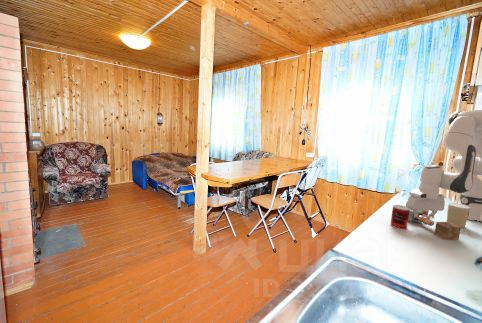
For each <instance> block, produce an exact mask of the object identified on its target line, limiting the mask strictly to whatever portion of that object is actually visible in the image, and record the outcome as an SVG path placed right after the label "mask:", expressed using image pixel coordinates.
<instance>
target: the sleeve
mask: <svg viewBox="0 0 482 323" xmlns="http://www.w3.org/2000/svg"><path fill="white" fill-rule="evenodd" d="M417 213H418V215H421V216H423V217H424V215H423V212H422V211H418V212H417ZM408 223H411V224H417V223H419V224H423V222H421V221H419V220H417V219H415V218H414V212H413V210H411V209H410V211H409V218H408Z"/></svg>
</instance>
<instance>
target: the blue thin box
mask: <svg viewBox="0 0 482 323" xmlns="http://www.w3.org/2000/svg"><path fill="white" fill-rule="evenodd" d="M407 202H408V200H407V201H406V202H405V203H406V204H405V206H406V207H407ZM419 211H422V212H423V216H429V211H428V210H419Z"/></svg>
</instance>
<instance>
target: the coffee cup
mask: <svg viewBox="0 0 482 323" xmlns="http://www.w3.org/2000/svg"><path fill="white" fill-rule="evenodd" d="M469 211H470V207H468V206H465V205H462V204H458V203H455V202H454V203H453V202H450V203H448V204H447V214H446V215H447V216H446V222H450V223H453V224H455V225H458V226H460V227H461V229H465V228H466V225H467V221H468V219H467V218H468V215H469Z"/></svg>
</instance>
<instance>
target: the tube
mask: <svg viewBox="0 0 482 323" xmlns="http://www.w3.org/2000/svg"><path fill="white" fill-rule="evenodd" d="M414 218H415V217H414ZM415 219H417V220H419V221H421V222H422V224H424V225H426V226H430V227H433V226H434V225H435V221H434V220H431V218H430V217H427V216H424V215H423V216H421V215H419V218H415Z"/></svg>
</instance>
